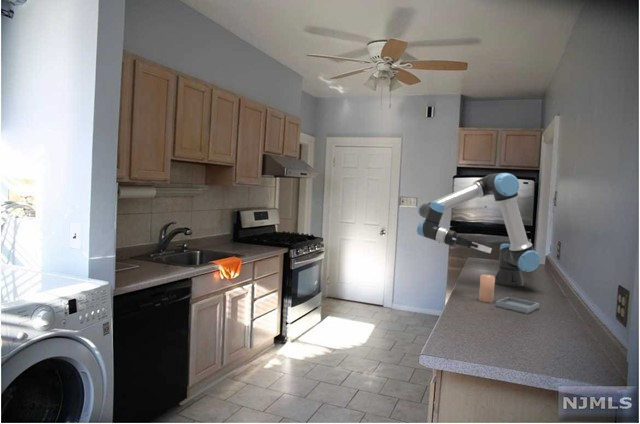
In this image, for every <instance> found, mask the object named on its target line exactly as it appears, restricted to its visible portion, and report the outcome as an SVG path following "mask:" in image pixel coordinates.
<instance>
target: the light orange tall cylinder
mask: <svg viewBox="0 0 640 424" xmlns="http://www.w3.org/2000/svg"><path fill="white" fill-rule="evenodd" d="M495 276H496V275H492V274H480V277H479V278H480V280H479V292H478V293H479V294H478V301H479V302H483V303H494V296H495V284H496V283H495Z"/></svg>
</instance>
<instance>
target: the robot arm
mask: <svg viewBox="0 0 640 424" xmlns="http://www.w3.org/2000/svg"><path fill="white" fill-rule="evenodd" d="M519 181H520V180H519V179H518V178H517V177H516V176H515V175H514V174H512V173H509V172H501V173H500V172H499V173H490V174H487V175H486V176H483V177H482V178H479V179H478V180H475V181H473V183H472V184H469V185H468V186H465V187H463V188H461V189H459V190H456V191H454V192H451V193H449V194H447V195H444V196H441V197H440V198H437V199H435V200H432V201H431V202H428V203H423V204H421V205H420V206H419V207H418V208H417V212H418V214H419V216H420V217H422V218H423V219H424V221H420V222H419V223H418V225H417V228H416V232H417V235H419V236H421V237H423V238H427V239H430V240H432V241H435V242H438V244H440V243H442V244H445V245H447V246H451V247H453V245H454V244H456V245H459V246H464V247H467V249H470V248H472V249H474V250H477V251H481V252H484V253H488V254H491V253H492V250H493V248H492V247H489V246H485V245H483V244H480V242H474V241H472V240H468V239H466V238H464V237H462V236H460V235H459V236H458V233H457V232H456V231H454V230H452V229H449V228H445V227H441V226H440V223H441V220H442V217H443V215H444V212H446V211H448V210H450V209H453V208H455V207H457V206H460V205H462V204H465V203H466V202H469V201H472V200H474V199H476V198H483V197H487V196H492V195H493V198H494V202H496V203H498V204H499V208H500V211H501V213H502V214H501V215H502V219H503V221H504V222H503V223H504V226H505V228H506V232H507V235H508V238H509V243H501V244H500V247H499V256H498V257H499V258H498V260H499V261H498V270H497V271H496V274H495V275H494V276H495V284H496V285H500V286H506V287H512V288H513V287H523V286H524V278H523V276H522V272H525V273H526V272H527V273H528V272H533V271H535V270H536V269H537V268H538V267H539V266H540V264H541V257H540V254H539V253H538V252H537V251H535V250H534V246H533V243H532V242H530V241H529V240H528V236H527V232H526V228H525V226H524V223H523V220H522V214H521V212H520V208H519V204H518V200H517V198H518V197H519V194H518V191H519V188H520V182H519Z"/></svg>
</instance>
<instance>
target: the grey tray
mask: <svg viewBox="0 0 640 424" xmlns="http://www.w3.org/2000/svg"><path fill="white" fill-rule="evenodd" d="M495 307H496V308H499V309H504V310H508V311H512V312H516V313H521V314H525V315H528V314H531V313H532V312H535V311H536V310H538V309H539V308H540V303H539V302H534V301H530V300H527V299H520V298H516V297H511V296H507V297H504V298H500V299H498V300H496V301H495Z"/></svg>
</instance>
